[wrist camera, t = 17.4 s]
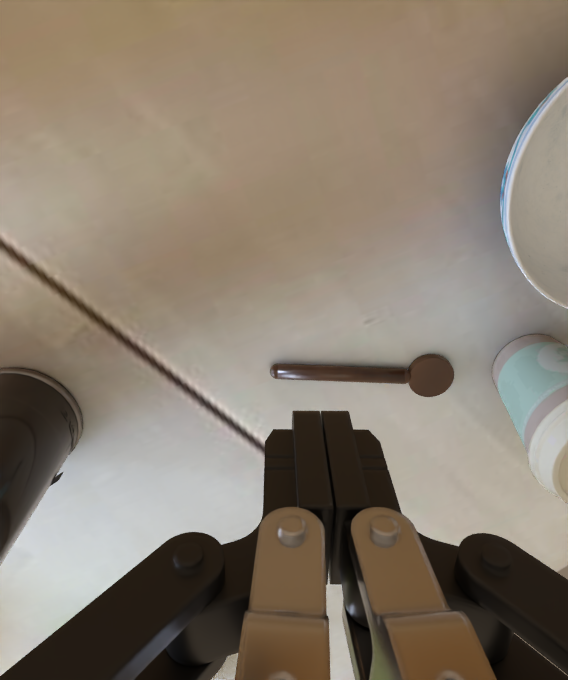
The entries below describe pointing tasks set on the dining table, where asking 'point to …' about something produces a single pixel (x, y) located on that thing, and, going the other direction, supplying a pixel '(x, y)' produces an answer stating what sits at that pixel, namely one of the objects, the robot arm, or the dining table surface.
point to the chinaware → (540, 197)
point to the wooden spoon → (378, 374)
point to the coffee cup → (538, 404)
